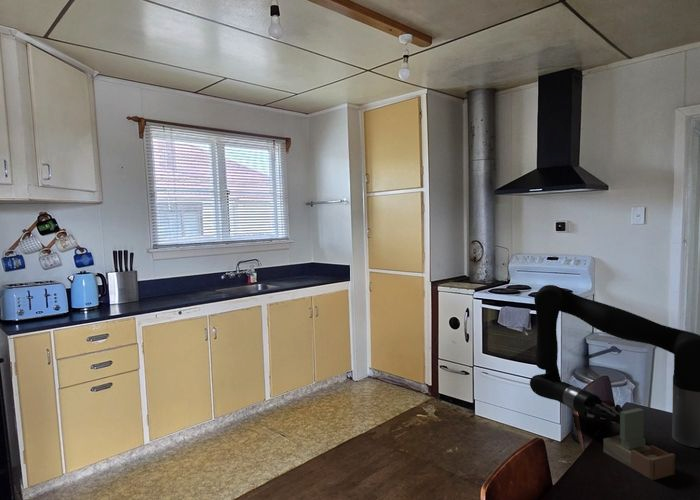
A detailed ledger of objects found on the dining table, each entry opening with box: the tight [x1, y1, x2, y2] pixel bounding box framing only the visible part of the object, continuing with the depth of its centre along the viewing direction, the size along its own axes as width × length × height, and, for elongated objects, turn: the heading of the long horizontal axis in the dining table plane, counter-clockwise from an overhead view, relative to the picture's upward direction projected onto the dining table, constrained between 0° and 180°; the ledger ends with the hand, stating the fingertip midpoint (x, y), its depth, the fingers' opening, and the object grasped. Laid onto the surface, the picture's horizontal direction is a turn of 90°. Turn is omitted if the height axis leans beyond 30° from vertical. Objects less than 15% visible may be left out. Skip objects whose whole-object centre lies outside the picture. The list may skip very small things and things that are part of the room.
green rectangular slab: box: [619, 407, 646, 450], centre depth 124 cm, size 7×2×10 cm, turn 107°
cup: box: [630, 445, 676, 481], centre depth 119 cm, size 8×6×6 cm
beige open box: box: [602, 434, 651, 468], centre depth 126 cm, size 8×9×4 cm
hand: (629, 424), depth 125 cm, fingers closed
